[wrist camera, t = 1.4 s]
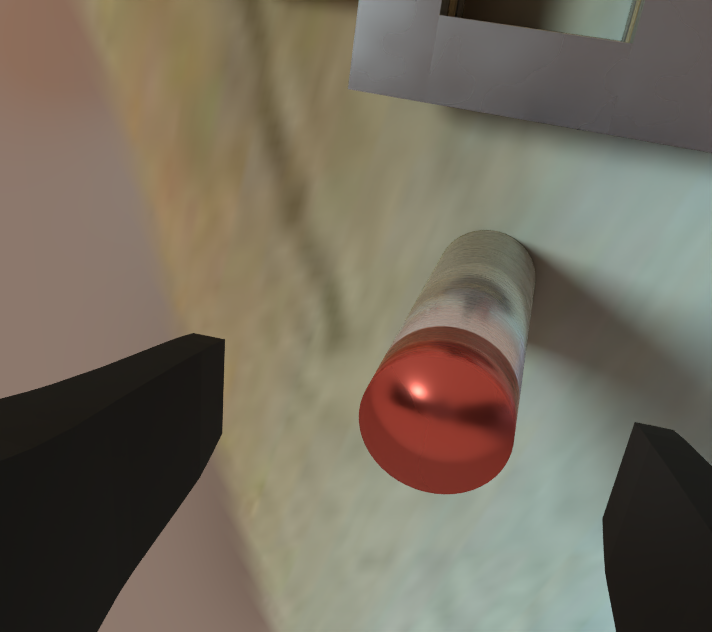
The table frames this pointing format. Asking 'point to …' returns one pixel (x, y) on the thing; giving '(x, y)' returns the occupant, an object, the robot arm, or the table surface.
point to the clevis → (547, 68)
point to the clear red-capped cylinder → (455, 370)
